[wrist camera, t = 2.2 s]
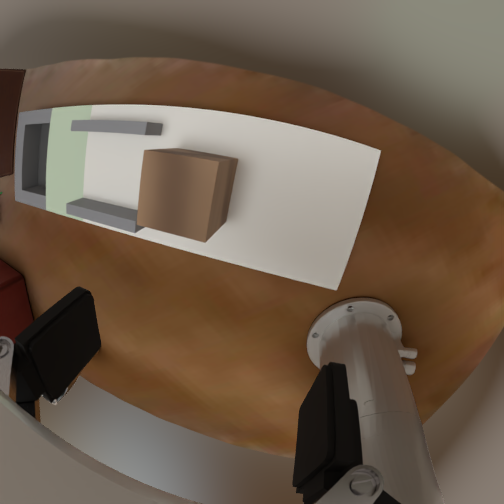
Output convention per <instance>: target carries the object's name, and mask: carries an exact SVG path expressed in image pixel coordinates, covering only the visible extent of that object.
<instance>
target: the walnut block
mask: <svg viewBox="0 0 504 504" xmlns="http://www.w3.org/2000/svg"><path fill="white" fill-rule="evenodd" d="M237 163H238V158H233V157H228V156H222V155H217V154H211V153H206V152H200V151H193V150H187V149H180V148H167V149H150V150H144V154H143V162H142V170H141V179H140V189H139V200H138V213H137V225H140V226H143V227H147V228H151V229H155V230H158V231H162V232H166V233H170V234H174V235H177V236H181V237H185V238H189V239H192V240H196V241H200V242H204V243H206V242H207V241H208V240H209V239H210V238H211V237H212V236H213V235H214V234H215V233H216V232H217V231H218V230H219V229H220V228H221V227H222V226H223V225H224V224H225V223H226V220H227V215H228V210H229V204H230V199H231V194H232V189H233V183H234V178H235V173H236V168H237Z"/></svg>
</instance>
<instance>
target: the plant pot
mask: <svg viewBox="0 0 504 504" xmlns="http://www.w3.org/2000/svg"><path fill="white" fill-rule="evenodd" d="M31 323H33V316H32V312H31V309H30V305H29V300H28V296H27V292H26V287H25V282H24V278H23V276H22V275H21V274H20V273H18V272H17V271H16V270H14V269H13V268H11V267H10V266H9V265H7V264H6V263H5V262H3V261H2V260H1V259H0V337H1V336H4V337H8V338H10V339H11V340H12V342H13V344H15V343H16V341H15V339H14V338H15V337H16V336H18V335H19V334H20V333H21V332H22V331H23V330H24V329H26V328H27V327H28V326H29V325H30V324H31Z"/></svg>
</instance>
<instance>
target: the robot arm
mask: <svg viewBox="0 0 504 504" xmlns="http://www.w3.org/2000/svg"><path fill="white" fill-rule="evenodd" d="M401 337H402V326H401V322H400V320H399V318H398V316H397V314H396V312H395V311H394V310H393V308H391V307H390V306H389V305H388V304H386V303H384V302H382V301H380V300H376V299H372V298H352V299H348V300H344V301H341V302H339V303H337V304H334V305H332V306H331V307H329V308H328V309H326V310H325V311H323V312H322V313H321V314H320V315H319V316H318V317H317V318H316V320H315V321H314V322H313V324H312V325H311V327H310V330H309V332H308V336H307V351H308V355H309V357H310V359H311V361H312V362H313V363H314V365H315V366H317V367H318V368H319V369H320V372H319V374H318V376H317V378H316V380H315V381H314V383H313V385H312V387H311V389H310V391H309V392H308V394H307V396H306V398H305V399H304V401H303V403H302V405H301V407H300V410H299V419H298V432H297V444H296V455H295V465H294V474H293V487H297V489H296V493H301V494H303V502H304V504H445V502H444V499H443V496H442V493H441V491H440V488H439V485H438V482H437V479H436V476H435V472H434V470H433V465H432V462H431V458H430V455H429V451H428V447H427V443H426V439H425V435H424V431H423V428H422V424H421V421H420V417H419V414H418V410H417V407H416V403H415V400H414V397H413V393H412V390H411V387H410V384H409V381H408V378H407V375H412V374H413V373H414V372H415V369H416V364H415V362H412V361H405V360H403V361H402V360H401V357H405V358H410V359H415V358H416V356H417V349H414V348H405V347H404V346H403V345H402V343H401ZM14 339H15V341H16V343H15V344H13V342H12V340H11V339H10V338H8V337H4V336H1V337H0V504H202V503H198V502H195V501H191V500H188V499H184V498H182V497H178V496H176V495H173V494H170V493H167V492H164V491H162V490H159V489H156V488H154V487H152V486H149V485H147V484H144V483H142V482H140V481H137V480H135V479H133V478H131V477H128V476H126V475H124V474H122V473H120V472H118V471H116V470H114V469H112V468H110V467H108V466H106V465H105V464H103V463H101V462H99V461H97V460H95V459H94V458H92V457H90V456H89V455H87V454H85V453H83V452H81V451H80V450H79V449H77V448H75V447H74V446H72V445H71V444H69V443H68V442H66V441H65V440H63V439H62V438H60V437H59V436H57V435H56V434H54V433H53V432H52V431H50V430H49V429H48V428H46V427H45V426H44V425H42V424H41V423H40V407H39V398H40V397H41V395H42V396H43V397H44V398H45V399H46V400H48V401H49V402H50V403H52V402H53V401H54V400H55V399H58V398H59V397H60V396H61V395H62V394H63V392H64V391H65V390H66V389H67V387H68V386H69V385H70V384H71V382H72V381H73V380H74V379H75V378H76V376H77V375H78V374H79V373H80V372H81V370H82V369H83V368H84V367H85V366H86V365H87V363H88V362H89V361H90V360H91V359H92V357H93V356H94V355H95V354H96V353H97V352H98V351H99V349H100V347H101V339H100V334H99V329H98V324H97V318H96V312H95V305H94V299H93V296H92V295H91V292H90V291H88V290H86V289H84V288H81V287H76V288H75V289H73V290H72V291H71V292H70V293H68V294H67V295H66V296H64V297H63V298H62V299H61V300H59V301H58V302H57V303H56V304H54V305H53V306H52V307H51V308H49V309H48V310H47V311H46V312H45V313H43V314H42V315H41V316H40V317H38V318H37V319H36V320H35V321H34V322H33V323H31V324H30V325H29V326H28V327H27V328H26V329H24V330H23V331H22V332H21V333H20V334H19V335H18V336H16V337H15V338H14Z"/></svg>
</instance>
